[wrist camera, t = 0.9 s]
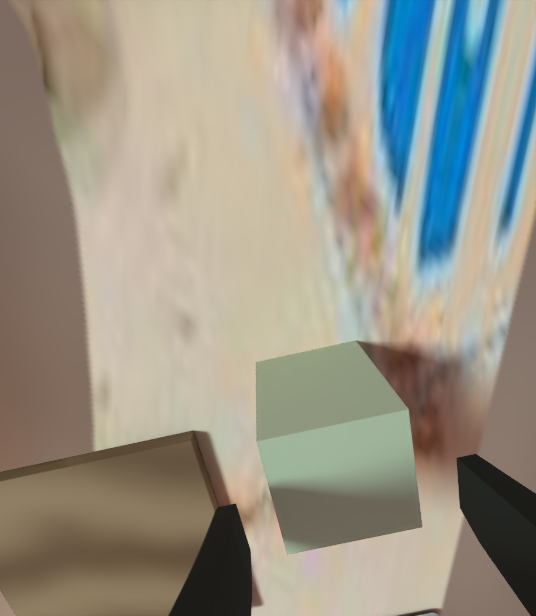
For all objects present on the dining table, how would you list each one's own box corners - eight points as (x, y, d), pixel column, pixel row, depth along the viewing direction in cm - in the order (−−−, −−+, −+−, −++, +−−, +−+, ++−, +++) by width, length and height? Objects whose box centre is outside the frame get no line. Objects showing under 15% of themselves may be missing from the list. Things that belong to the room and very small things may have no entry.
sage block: (368, 425, 18) (422, 527, 12) (276, 445, 18) (287, 554, 13) (355, 340, 17) (408, 409, 11) (255, 361, 17) (256, 441, 11)
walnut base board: (250, 604, 21) (250, 619, 21) (51, 644, 22) (43, 660, 21) (193, 430, 18) (190, 440, 17) (-46, 481, 18) (-60, 494, 17)
